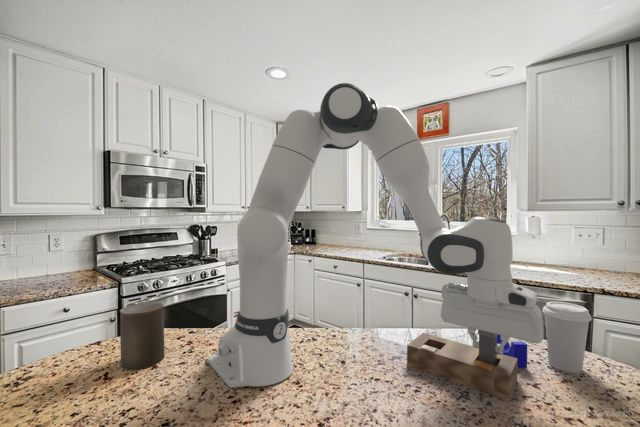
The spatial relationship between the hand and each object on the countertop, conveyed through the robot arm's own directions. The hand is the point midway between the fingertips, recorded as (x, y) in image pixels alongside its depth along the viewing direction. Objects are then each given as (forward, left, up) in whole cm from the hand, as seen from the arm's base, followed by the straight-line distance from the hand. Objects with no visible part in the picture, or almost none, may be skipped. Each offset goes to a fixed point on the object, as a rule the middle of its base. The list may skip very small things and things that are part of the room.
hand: (487, 350), depth 69 cm
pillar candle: (-69, -47, -7) cm, 84 cm away
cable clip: (+1, +17, -8) cm, 18 cm away
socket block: (-6, 0, -7) cm, 9 cm away
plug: (0, 0, -4) cm, 4 cm away
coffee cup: (+13, +20, -7) cm, 25 cm away
